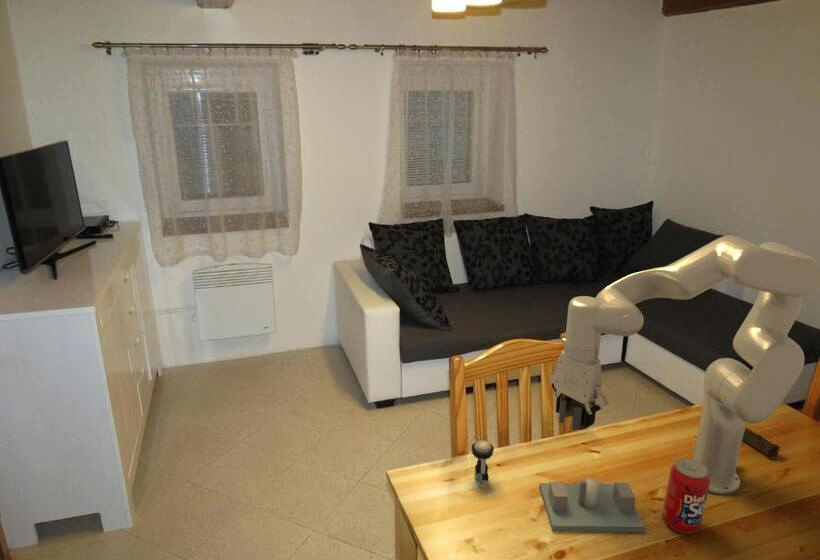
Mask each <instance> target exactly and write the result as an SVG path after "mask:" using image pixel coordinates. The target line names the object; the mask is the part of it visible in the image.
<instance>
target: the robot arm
mask: <svg viewBox="0 0 820 560" xmlns="http://www.w3.org/2000/svg"><path fill="white" fill-rule="evenodd" d="M727 280H731V281H732V282H733V283H735V284H737V285H739V286H742V287H743V288H744V287H745V288H746V289H751V290H755V291H758V295H757V298H756V300H755V302H754V304H753V306H752V308H751V309H750V310H749V312H748V314H747V316H746V317H745V319H744V320H743V322H742V324H741V325H740V327H739V329H738V330H737V332H736V334H735V336H734V337H733V341H732V346H733V350H734V351H735V353H736V354H737V355H738V356H739V357H740V358H741V359H743V360H744V361H745V362H747V364H748V365H750V366H751V367H752V370H751V369H750V368H749V367H747V365H745V364H744V363H742V362H741V361H739V360H736V359H733V358H729V357H724V358H718V359H716V360H714V361H712V362H711V363H710V364H709V365H708V367H706V370H705V373H704V377H703V401H702V409H701V412H700V413H701V415H700V419H699V424H698V429H697V435H696V437H695V438H696V440H695V443H694V447H693V448H694V449H693V454H692V458H691V459H693V460H696V461H699V462H700V463H702V464H703V465H705V466H706V467H707V469H708V474H709V475H710V485H709V490H708V493H714V494H719V495H727V494H728V495H729V494H732V493H735V492H737V491H738V490H739V489H740V486H741V479H740V477H739V475H738V474H737V472H736V470H737V465H738V461H739V456H740V452H741V448H742V444H743V441H744V440H743V435H744V431H745V427H746V426H747V423H748V424H759V423H762V422H764V421H766V420H768V419H769V418H770V417H772V416H773V415H774V413H775V412H776V411H777V409H779V407H780V405H781V404H782V403H783V401H784V400H785V398H786V396H787V395H788V393H789V392H790V390H791V389H792V387H793V386H794V384H795V383H796V382H797V380H798V378H799V377H800V375H801V373H802V371H803V369H804V366H805V365H804V364H805V354H804V351H803V349H802V348H801V346H800V345H799V344H798V343H797V342H796V341H794V340H793V339H792V338H790V337H789V336H788V334H789V333H790V330H791V329H792V326H793V325H794V323H795V321H796V320H797V318H798V316H799V314H800V311H801V308H802V303H803V298H805V297H809V296H812V295H813V294H816V293H817V292H819V290H820V261H818V260H817V259H815V258H814V257H812V256H809V255H808V254H805V253H803V252H800V251H798V250H796V249H794V248H792V247H790V246H788V245H785V244H782V243H779V242H776V241H767V242H764V243H761V244H759V245H757V244H754V243H753V242H751V241H748V240H746V239H745V238H742V237H740V236H736V235H723V236H722V237H721V236H720V237H719V238H716V239H714V240H713V241H710V242H709V243H708V244H706V245H703V246H702V247H699V248H698V249H697V250H694V251H693V252H691V253H689V254H687V255H685V256H684V257H682V258H680V259H678V260H676V261H674V262H672V263H669V265H665V266H661V267H660V266H659V267H654V268H651V269H646V270H642V271H638V272H634V273H630V274H628V275H626V276H624V277H622V278H620V279H618V280H616V281H614V282H612V283H611V284H609V285H607V286H606V287H604V288H603V289H602V290H601V291H599V292H598V293H597V295H596V297H592V296H587V295H585V296H584V295H581V296H580V295H579V296H574V297H573V298H572V299H571V300H569V303H568V307H567V321H566V331H565V337H564V338H562V339H561V344H562V345H564V348H563V350H561V351H560V354H559V356H558V359H557V363H556V369H555V372H554V373H550V374H549V375H548V376H547V377H548V380H549V381H550V383H551V387H552V389H553V391H554V396H555V398H556V402H555V406H556V407H555V413H556V414H559V406H560V396H561V395H562V394H565V395H567V396H568V397H570V398H572V399H574V400H576V401H578V402H580V403H582V404H585V407H586V410H587V412H585V413H584V421H583V427H584V428H587V429H588V428H589V427H591V426H593V425H594V424H595V422H596V421H595V420H596V413H597V412H599V411H600V410H602V409H604V408H606V407H607V406H608V405H609V404H610V402H609V400H608V399H607V397H606V396H605V394H604V393H603V391H602V364H601V360H600V358H599V354H600V348H601V337H602V334H604V335H605V334H606V335H613V336H617V337H629V336H632V335H636V334H637V333H639V332H640V330H642V327H643V326H644V322H645V321H644V315H643V312H642V311H641V310H640V308H638V307H637V305H636V304H638V303H640V302H644V301H647V300H650V299H658V298H662V299H663V298H664V299H672V300H691V299H693V298H695V297H697V296H699V295H700V294H702V293H704V292H706V291H708V290H709V289H711V288H714V287H716V286H717V285H719V284H721V283H723V282H725V281H727ZM597 401H598V402H597ZM590 403H591V404H592V407H591V405H590ZM746 428H747V427H746Z"/></svg>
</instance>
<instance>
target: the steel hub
mask: <svg viewBox="0 0 820 560" xmlns="http://www.w3.org/2000/svg"><path fill="white" fill-rule="evenodd" d="M590 405H591V407H592V404H591V403H590ZM585 412H587V410H586V407H585V404H582V403H580V402H578V401H576V400H574V399H572V398H570V397H568V396H567V395H565V394H562V395H561V396H560V406H559V413H558V416H557V417H558V418H557V419H558V423H559V424H564V423H565V421H566V420H565V418H567V417H571V425H570V428H571V431H582V430H586V429H588V428H584V427H583V421H584V413H585Z"/></svg>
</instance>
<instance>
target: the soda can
mask: <svg viewBox="0 0 820 560" xmlns="http://www.w3.org/2000/svg"><path fill="white" fill-rule="evenodd" d="M709 485H710V475H709V474H708V469H707V467H706V466H705V465H703V464H702V463H700V462H699V461H696V460H693V459H692V458H688V457H687V458H686V457H682V458H679V459H676V461H675V463H674V464H672V465H671V467H670V471H669V476H668V481H667V487H666V491H665V497H664V501H663V507H662V513H661V515H662V516H661V517H662V519H663V521H664V522H665V524H666V525H667V526H668V527H670V528H671V529H672V530H674V531H676V532H680V533H682V534H694V533H697V532H698V531H699V530H700V528H701V527H702V522H703V517H704V512H705V507H706V503H707V499H708V494H709V491H708V490H709Z"/></svg>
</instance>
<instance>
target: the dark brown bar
mask: <svg viewBox="0 0 820 560" xmlns="http://www.w3.org/2000/svg"><path fill="white" fill-rule="evenodd" d="M742 441H743V442H745V443H747V444H748V445H749V446H751V447H753V448H754V449H755V450H758V451H759V452H760V453H762V454H764V455H765V456H766V458H771V457H774V456H776V457H777V455H778V453H779V451H780V449H781V447H780V446H779V445H778V444H775V443H773V442H771V441H769V440H767V439H766V438H764V437H763V436H762V435H760V434H758V433H756V432H754V431H753V430H751V429H749V428H748V427H745V431H744V435H743V440H742ZM774 458H775V457H774ZM771 459H772V458H771Z"/></svg>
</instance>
